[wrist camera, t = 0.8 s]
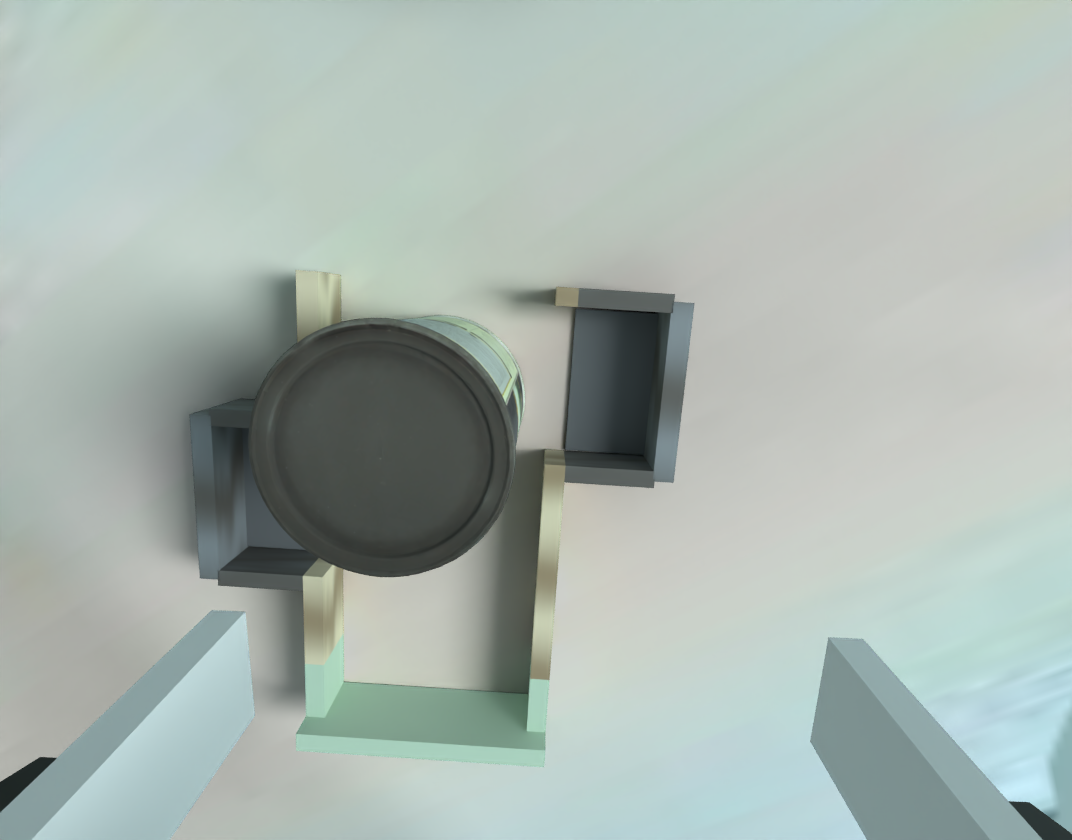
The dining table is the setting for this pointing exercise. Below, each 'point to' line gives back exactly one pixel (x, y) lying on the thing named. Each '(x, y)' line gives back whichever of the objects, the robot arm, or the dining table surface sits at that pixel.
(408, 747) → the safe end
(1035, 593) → the dining table surface
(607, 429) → the mats
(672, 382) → the channel
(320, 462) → the coffee can
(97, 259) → the dining table surface
